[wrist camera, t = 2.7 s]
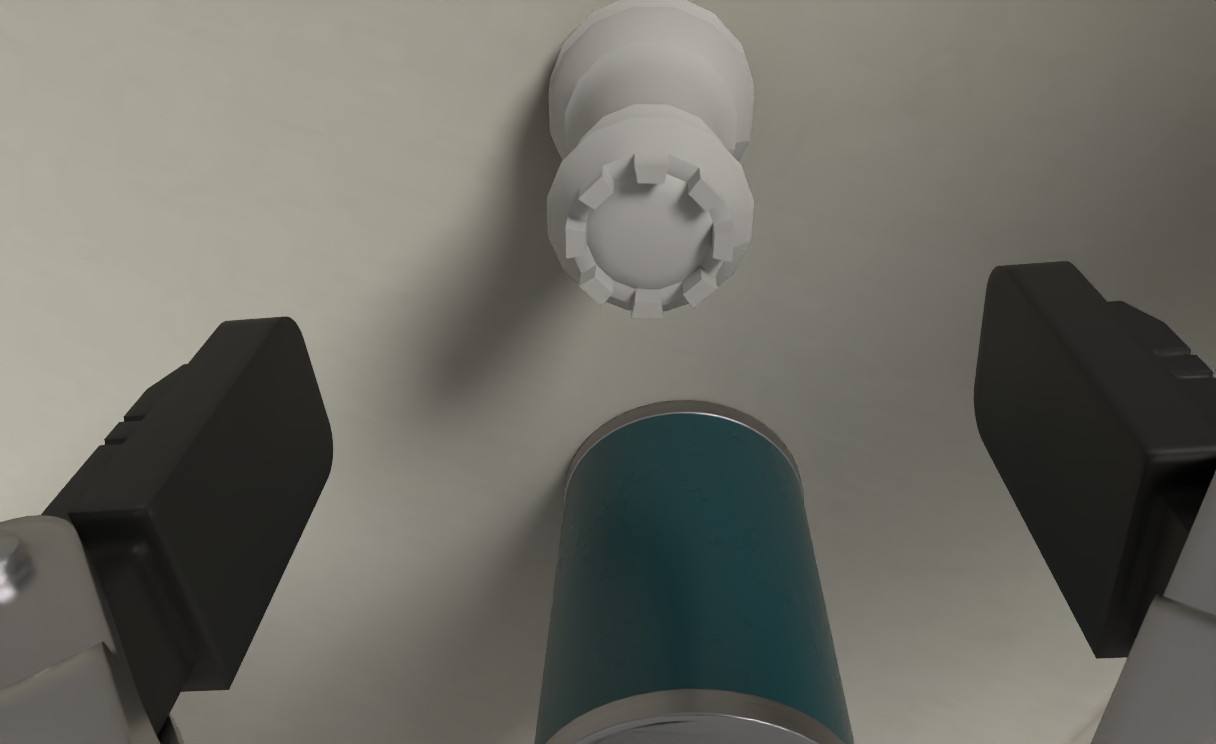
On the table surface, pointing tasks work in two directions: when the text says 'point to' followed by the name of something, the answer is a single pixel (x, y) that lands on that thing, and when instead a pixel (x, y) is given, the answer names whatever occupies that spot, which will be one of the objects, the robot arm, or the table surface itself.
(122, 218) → the table surface
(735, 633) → the tin can
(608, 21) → the rook chess piece
